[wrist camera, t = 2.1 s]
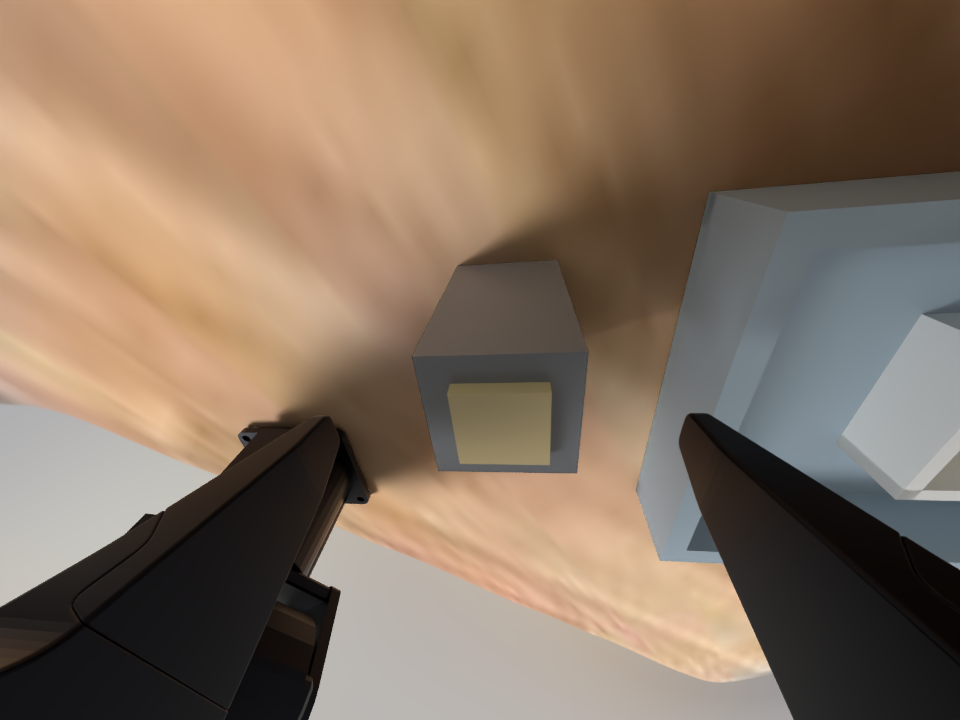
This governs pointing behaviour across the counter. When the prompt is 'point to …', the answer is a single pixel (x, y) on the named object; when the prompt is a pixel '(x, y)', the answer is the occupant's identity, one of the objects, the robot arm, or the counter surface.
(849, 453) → the frame
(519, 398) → the connector
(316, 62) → the counter surface
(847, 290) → the walled box
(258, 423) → the counter surface
